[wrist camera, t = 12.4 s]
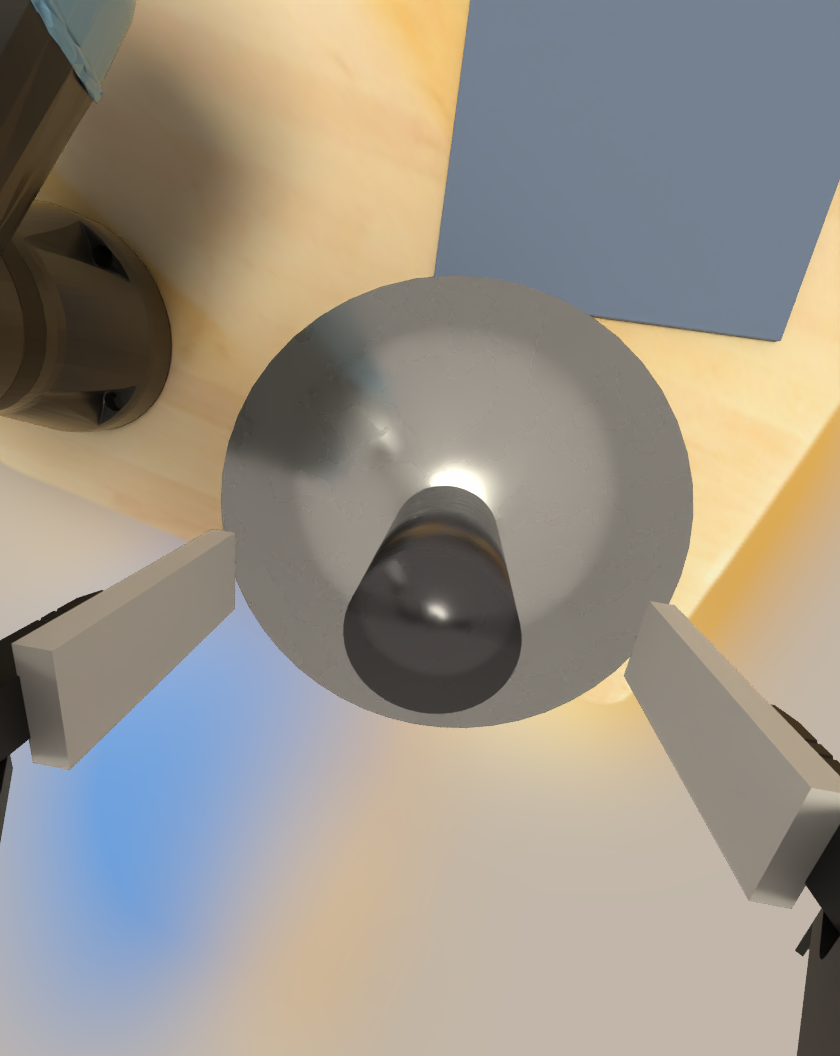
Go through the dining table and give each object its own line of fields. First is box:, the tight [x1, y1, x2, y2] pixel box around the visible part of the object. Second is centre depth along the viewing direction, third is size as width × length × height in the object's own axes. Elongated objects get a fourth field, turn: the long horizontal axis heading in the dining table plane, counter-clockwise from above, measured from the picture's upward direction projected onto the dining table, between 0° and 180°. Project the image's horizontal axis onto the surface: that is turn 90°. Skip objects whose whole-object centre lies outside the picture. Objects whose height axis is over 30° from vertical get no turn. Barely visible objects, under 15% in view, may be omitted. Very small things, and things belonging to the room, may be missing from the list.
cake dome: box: [221, 275, 693, 728], centre depth 23 cm, size 22×22×23 cm
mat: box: [434, 0, 840, 342], centre depth 26 cm, size 23×23×1 cm
